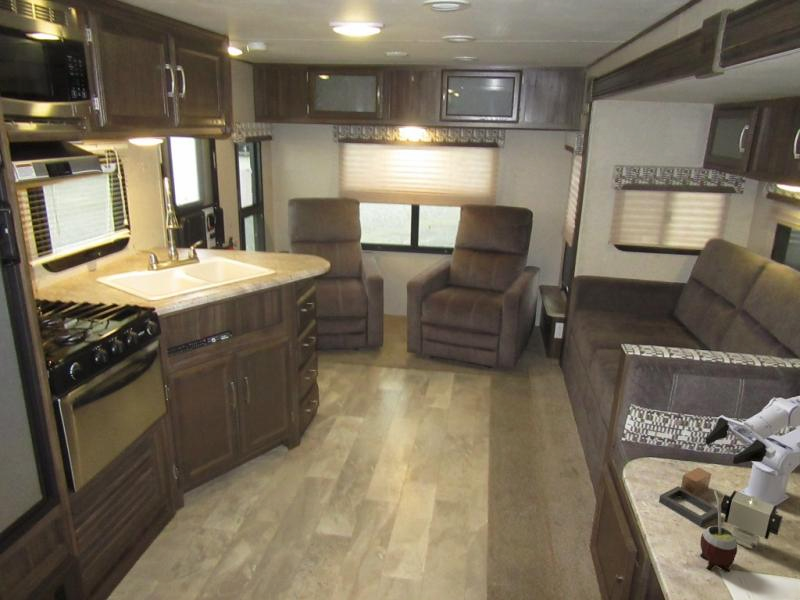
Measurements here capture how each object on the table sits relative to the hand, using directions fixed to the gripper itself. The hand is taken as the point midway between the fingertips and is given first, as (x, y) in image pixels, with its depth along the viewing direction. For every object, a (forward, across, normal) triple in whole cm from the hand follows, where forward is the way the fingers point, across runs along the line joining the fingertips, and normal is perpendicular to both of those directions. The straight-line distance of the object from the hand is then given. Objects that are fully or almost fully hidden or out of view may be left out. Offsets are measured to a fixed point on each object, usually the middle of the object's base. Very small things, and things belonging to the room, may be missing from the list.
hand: (720, 450), depth 138 cm
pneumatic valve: (+6, +13, +16) cm, 21 cm away
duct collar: (+8, -1, +17) cm, 19 cm away
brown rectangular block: (0, -6, +20) cm, 21 cm away
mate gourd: (+18, +14, +12) cm, 26 cm away
